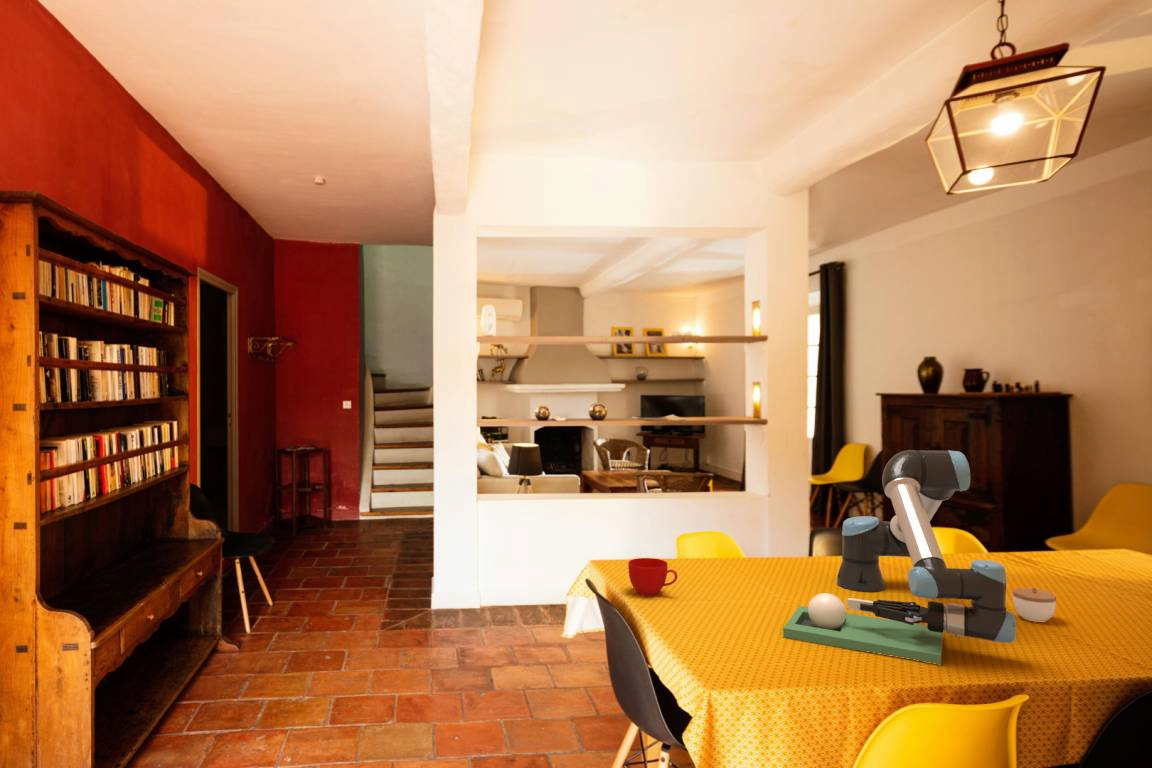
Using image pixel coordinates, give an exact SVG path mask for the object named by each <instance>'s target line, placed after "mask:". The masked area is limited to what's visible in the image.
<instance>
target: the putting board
mask: <svg viewBox="0 0 1152 768" xmlns="http://www.w3.org/2000/svg"><path fill="white" fill-rule="evenodd" d="M943 634H944V632H942V633H940V632H934V631H929V630H928V627H927V625H925V624H920V623H914V625H909V624H906V623H903V622H899V621H895V620H890V619H886V618H881V617H874V616H868V615H860V614H853V613H848V612H846V618H845V621H844V623H843V625H842V626H841V627H839V628H838V629H836V630H828V629H822V628H818V627H817V626H816V625H814V624H813V622H812V621H811V619H810V617H809V614H808V606H803V605H799V606H798V607H797V608H796V610H795V611H794V612H793V614H792V615H791V617H790V618H789V620H788V621H787V623H786V624H785V625H784V626H783V629H782V636H783V638H785V639H791V640H797V641H802V642H806V643H807V642H808V643H811V644H812V643H813V644H819V645H823V646H828V647H835V648H840V649H847V650H851V649H852V651H857V650H861V651H860V652H862V651H869V652H875V653H881V654H886V655H893V656H898V657H904V658H909V659H915V660H919V661H926V662H931V663H936V664H941V665H942V658H941V657H942V655H943V641H942V640H943V638H944V637H943V636H944V635H943Z"/></svg>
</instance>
